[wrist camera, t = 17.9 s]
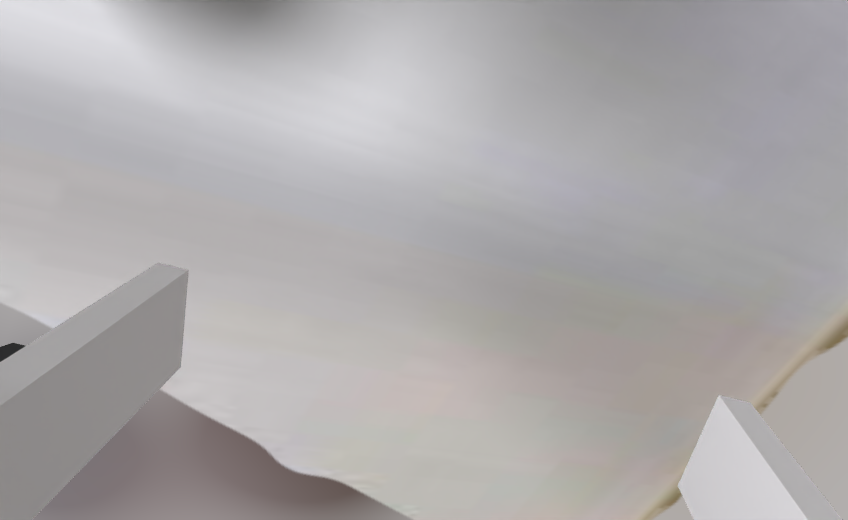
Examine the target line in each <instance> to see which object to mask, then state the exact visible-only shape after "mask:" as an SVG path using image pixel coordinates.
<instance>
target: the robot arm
mask: <svg viewBox="0 0 848 520" xmlns="http://www.w3.org/2000/svg"><path fill="white" fill-rule="evenodd" d="M188 271H189V270H187V269H183V268H179V267H175V266H170V265H166V264H162V263H157V264H155V265H154V266H152V267H150V268H149V269H147V270H146V271H144V272H142V273H141V274H139V275H138V276H136V277H135V278H133V279H131V280H130V281H128V282H127V283H125V284H123V285H122V286H120V287H119V288H117V289H115V290H114V291H112V292H111V293H109V294H108V295H106V296H104V297H103V298H101V299H100V300H98V301H96V302H95V303H93V304H92V305H90V306H89V307H87V308H85V309H84V310H82V311H81V312H79V313H77V314H76V315H74V316H73V317H71V318H70V319H68V320H66V321H65V322H63V323H62V324H60V325H58V326H57V327H55V328H54V329H52V330H50V331H49V332H47V333H46V334H44V335H43V336H41V337H40V338H38V339H36V340H35V341H33V342H31V343H30V344H28V345H27V346H24V345H20V344H15V343H11V344H8V345H5V346H2V347H0V520H32V519H33V518H34V517H35V516H36V515H37V514H38V513H39V512H40V511H41V510H42V509H43V508H44V507H45V506H46V505H47V504H48V503H49V502H50V501H51V500H52V499H53V498H54V497H55V496H56V495H57V493H59V492H60V491H61V489H62V488H63V487H64V486H65V485H66V484H67V483H68V482H69V481H70V480H71V479H72V478H73V477H74V476H75V475H76V474H77V473H78V472H79V471H80V470H81V469H82V468H83V467H84V466H85V465H86V464H87V463H88V462H89V461H90V460H91V459H92V457H94V456H95V454H96V453H98V452H99V450H100V449H101V448H102V447H103V446H104V445H105V444H106V443H107V442H108V441H109V440H110V439H111V438H112V437H113V436H114V435H115V434H116V433H117V432H118V431H119V430H120V429H121V428H122V427H123V426H124V425H125V424H126V423H127V422H128V421H129V420H130V419H131V417H133V416H134V414H135V413H136V412H137V411H138V410H139V409H140V408H141V407H142V406H143V405H144V404H145V403H146V402H147V401H148V400H149V399H150V398H151V397H152V396H153V395H154V394H155V393H156V392H157V391H158V390H159V389H160V388H161V387H162V386H163V385H164V384H165V383H166V382H167V381H168V380H169V379H170V378H171V376H172V375H173V374H174V373H175V372H176V371H177V370H178V369H179V368H180V367H181V357H182V345H183V333H184V320H185V308H186V296H187V284H188ZM678 487H679V489H680V492H681V494H682V496H683V498H684V500H685V502H686V505H687V507H688V509H689V511H690V513H691V515H692V517H693V519H694V520H843V519H842V518H841V517H840V516H839V514H838V513H837V512H836V510H835V509H834V508H833V507H832V505H831V504H830V503H829V502H828V500H827V499H826V498H825V497H824V495H823V494H822V493H821V492H820V490H819V489H818V488H817V486H816V485H815V484H814V483H813V482H812V480H811V479H810V478H809V476H808V475H807V474H806V472H805V471H804V470H803V469H802V468H801V466H800V465H799V464H798V462H797V461H796V460H795V459H794V457H793V456H792V455H791V454H790V452H789V451H788V450H787V449H786V447H785V446H784V445H783V443H782V442H781V441H780V440H779V438H778V437H777V436H776V435H775V433H774V432H773V431H772V430H771V428H770V427H769V426H768V424H767V423H766V422H765V421H764V419H763V418H762V417H761V415H760V414H759V413H758V412H757V410H756V409H755V408H754V407H753V405H752V404H751V403H750V402H746V401H742V400H738V399H733V398H729V397H725V396H721V395H719V396H718V398H717V400H716V402H715V405H714V407H713V409H712V411H711V413H710V416H709V418H708V420H707V422H706V424H705V427H704V429H703V431H702V433H701V435H700V438H699V440H698V442H697V444H696V446H695V449H694V451H693V453H692V455H691V458H690V460H689V462H688V464H687V466H686V469H685V471H684V473H683V475H682V477H681V480H680V482H679V484H678Z"/></svg>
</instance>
